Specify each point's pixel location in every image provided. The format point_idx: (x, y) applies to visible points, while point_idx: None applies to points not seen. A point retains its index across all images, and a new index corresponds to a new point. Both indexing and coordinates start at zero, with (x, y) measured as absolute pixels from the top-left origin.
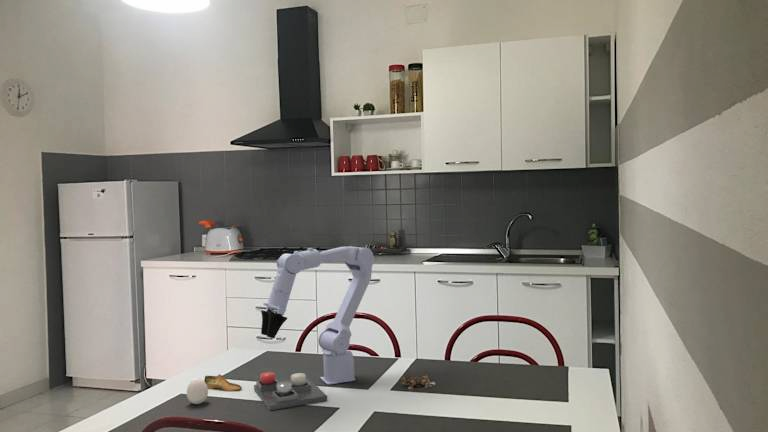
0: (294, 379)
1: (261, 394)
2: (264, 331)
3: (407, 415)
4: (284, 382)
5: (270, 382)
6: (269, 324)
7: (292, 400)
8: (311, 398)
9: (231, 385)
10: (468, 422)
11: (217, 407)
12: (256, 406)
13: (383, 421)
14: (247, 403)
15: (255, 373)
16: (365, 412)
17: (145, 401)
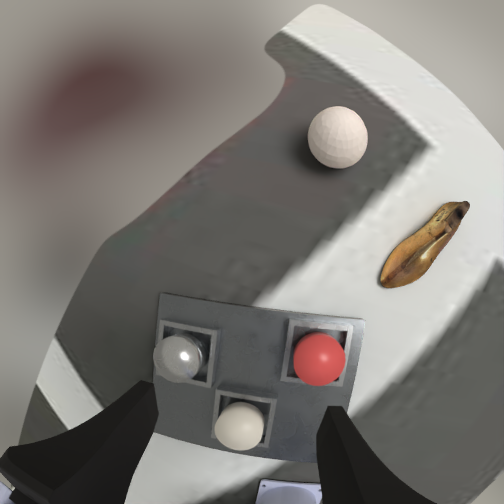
0: (224, 412)
1: (261, 310)
2: (325, 432)
3: None
4: (190, 369)
5: (293, 356)
6: (83, 423)
7: None
8: None
9: (401, 259)
10: None
11: (273, 185)
12: (216, 276)
13: (39, 412)
14: (255, 263)
15: (480, 356)
16: (74, 425)
17: (403, 78)
